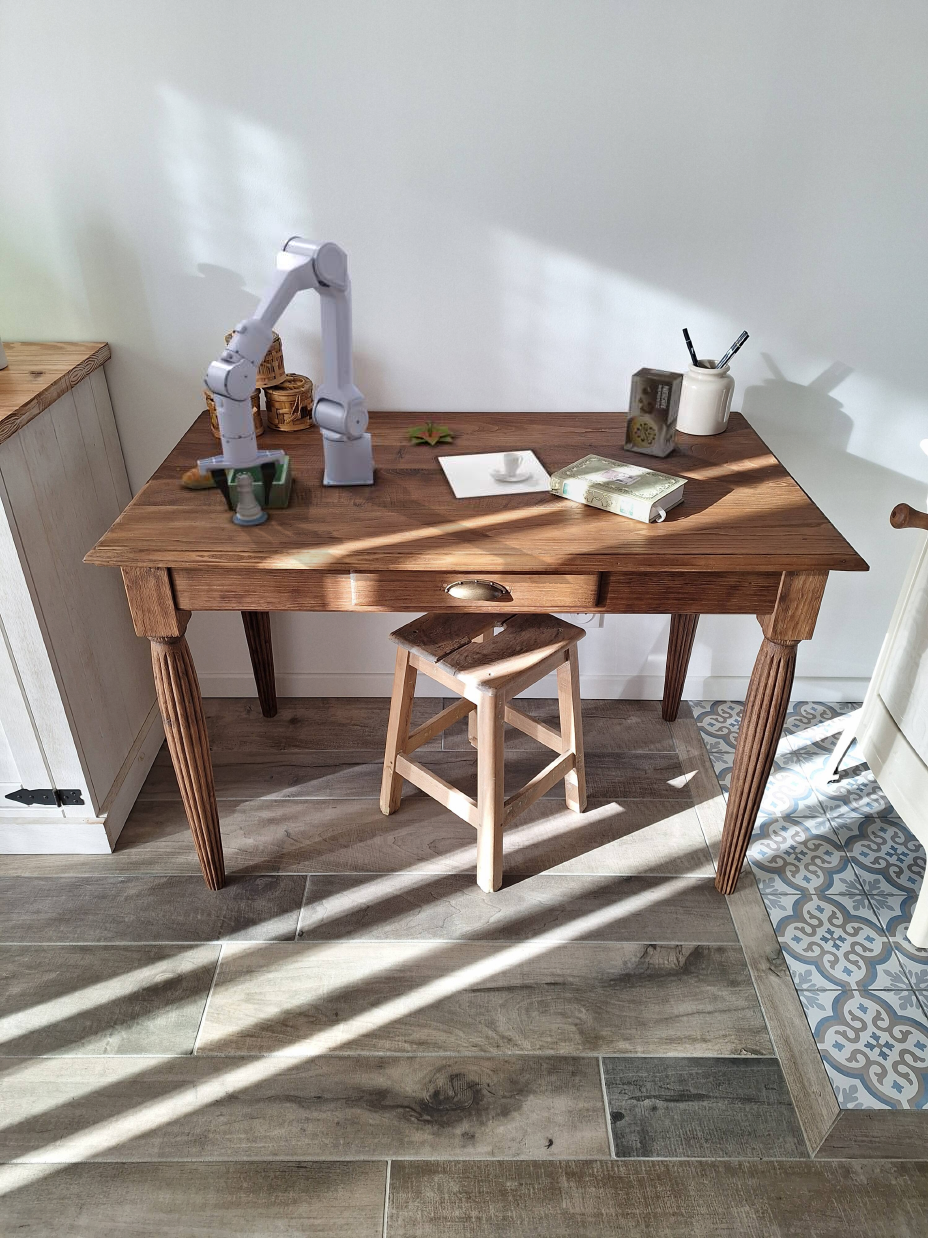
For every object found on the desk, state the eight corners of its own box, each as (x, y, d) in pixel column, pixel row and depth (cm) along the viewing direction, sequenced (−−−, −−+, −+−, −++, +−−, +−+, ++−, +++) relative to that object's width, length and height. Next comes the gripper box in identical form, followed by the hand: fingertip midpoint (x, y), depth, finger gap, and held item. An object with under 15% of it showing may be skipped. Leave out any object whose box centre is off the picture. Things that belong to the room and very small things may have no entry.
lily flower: (453, 426, 191) (453, 406, 188) (460, 446, 181) (461, 426, 179) (400, 428, 190) (399, 409, 187) (404, 449, 180) (404, 428, 177)
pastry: (191, 494, 160) (187, 475, 158) (176, 483, 165) (173, 464, 163) (237, 481, 165) (234, 463, 163) (221, 471, 170) (218, 453, 167)
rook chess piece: (232, 515, 152) (226, 474, 148) (255, 508, 155) (249, 467, 150) (244, 524, 149) (237, 482, 145) (266, 517, 152) (261, 475, 147)
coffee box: (674, 448, 181) (685, 373, 172) (663, 458, 176) (674, 381, 168) (634, 439, 185) (643, 365, 176) (622, 449, 180) (631, 373, 172)
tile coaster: (268, 510, 155) (268, 508, 155) (265, 525, 150) (265, 523, 150) (235, 511, 154) (235, 509, 154) (230, 526, 149) (230, 524, 149)
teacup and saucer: (491, 485, 165) (492, 465, 162) (482, 468, 171) (483, 449, 169) (535, 481, 166) (536, 462, 164) (524, 465, 173) (525, 446, 170)
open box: (292, 479, 166) (289, 455, 164) (286, 507, 156) (283, 483, 153) (238, 480, 166) (234, 457, 163) (229, 509, 155) (225, 485, 152)
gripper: (276, 419, 149) (285, 490, 156) (191, 429, 144) (204, 502, 152) (283, 433, 143) (292, 506, 150) (195, 444, 139) (208, 519, 146)
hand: (248, 505), depth 151 cm, fingers open, 6 cm apart
